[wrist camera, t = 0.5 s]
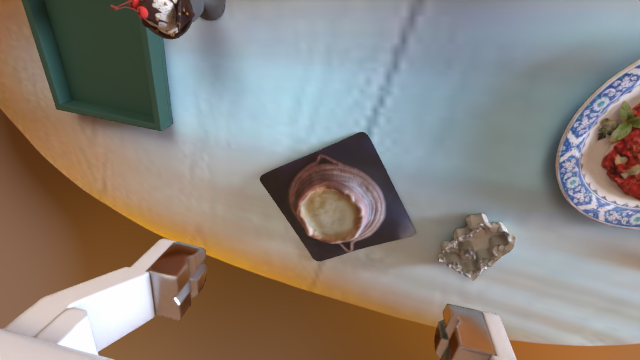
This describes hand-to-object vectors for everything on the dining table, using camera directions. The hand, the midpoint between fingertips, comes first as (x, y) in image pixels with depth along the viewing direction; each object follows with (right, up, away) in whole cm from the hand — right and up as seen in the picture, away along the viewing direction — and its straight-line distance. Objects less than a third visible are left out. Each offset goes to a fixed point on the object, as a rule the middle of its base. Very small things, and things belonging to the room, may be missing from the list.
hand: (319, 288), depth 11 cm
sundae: (-15, +27, +33) cm, 45 cm away
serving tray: (-31, +24, +38) cm, 55 cm away
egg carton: (+25, -6, +44) cm, 51 cm away
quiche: (+3, 0, +46) cm, 46 cm away
